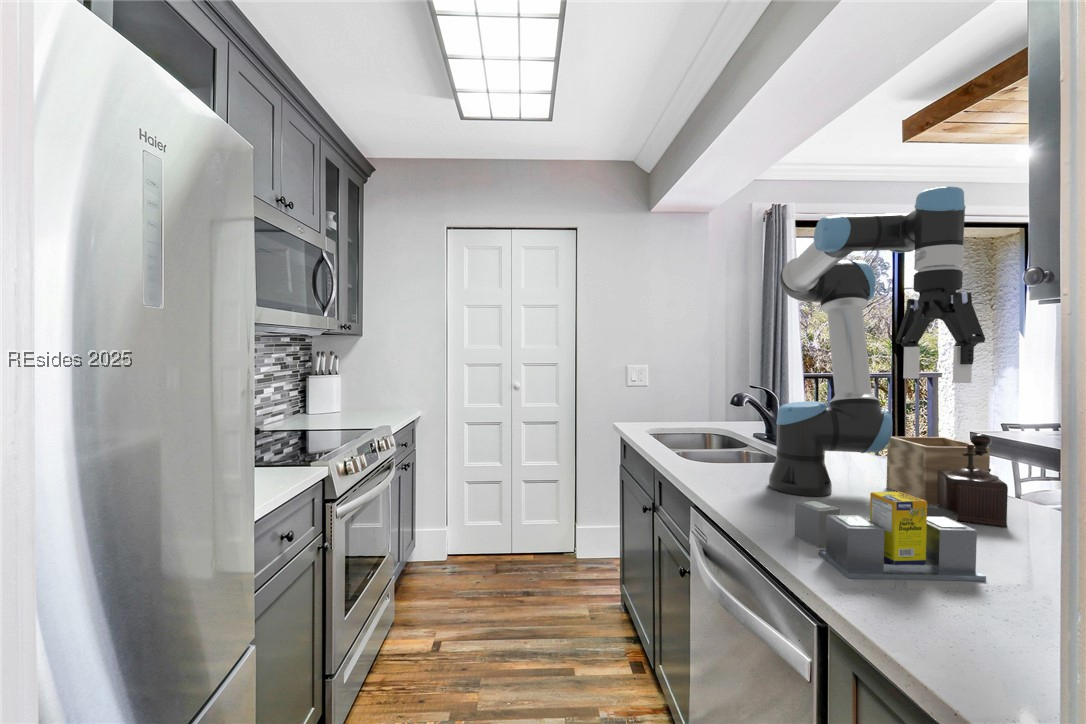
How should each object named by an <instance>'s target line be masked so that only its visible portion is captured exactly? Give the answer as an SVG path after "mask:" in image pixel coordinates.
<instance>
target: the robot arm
mask: <svg viewBox="0 0 1086 724" xmlns="http://www.w3.org/2000/svg"><path fill="white" fill-rule="evenodd" d="M965 214H966V205H965V191H964V189H963V188H961V187H959V186H940V187H935V188H930V189H925V190H924V191H923V190H922V191H921V192H918V194H917V196H916V199H915V204H914V210H912V211H910V212H908V213H885V214H880V213H879V214H855V215H854V214H850V215H848V214H847V215H842V214H837V215H831V216H823V217H822V218H820V219H819V220H818V222H817V223H816V226H815V227H814V234H813V242H812V243H811V244H810V245H809V246H808V247H807V248H806V249H805V250H804V251H803V252H802V253H801V254H800V255H798V257H795V258H792V259H791V260H789V261H788V262H787V263H786V264H784V266H783V267H782V269H781V271H780V273H779V280H778V281H779V285H780V287H781V289H782V290H783V292H784V293H785V294H786V295H787V296H789V297H790V298H792V299H794V300H797V301H800V302H807V303H808V302H809V303H820V310H821V311H822V312H824V313H825V314H826V315H827V324H828V333H829V334H828V336H829V344H830V346H829V347H830V355H831V358H830V359H831V368H832V378H833V388H834V389H833V390H834V391H833V392H834V396H833V398H832V399H831V400H829V402H828V403H829V405H828V406H829V407H828V406H827V405H826V402H824V401H816V400H813V401H796V402H795V401H794V402H790V403H789V402H788V403H785V404H782V405H780V406H779V408H778V409H777V416H776V422H775V423H776V458H775V461H774V464H773V466H772V469H771V471H770V475H769V477H768V485H769V487H770V488H771V489H773V490H774V491H778V492H781V493H785V494H790V495H795V496H796V495H797V496H805V497H822V496H823V497H824V496H829V495H831V494H832V491H833V490H832V489H833V488H832V487H833V486H832V484H833V483H832V481H831V478H830V475H829V472H828V470H827V466H826V463H825V462H826V460H825V458H826V457H825V456H826V455H825V454H826V452H844V453H860V454H867V453H880V452H882V451H883V450H885V449H886V448H887V445H888V442H889V440H890V438H891V437H892V433H893V417H892V415H891V413H890V411H889V410H888V409H887V408H884V407H881V401H880V399H879V398H877V397H876V396H874V395H873V392H872V383H871V374H870V373H871V372H870V365H869V355H868V346H867V336H866V330H865V329H866V328H865V319H864V310H865V308H867V306H868V305H869V301H871V300H872V299H873V298H874V296H875V293H876V288H875V287H876V285H877V283H876V282H877V281H876V276H875V273H874V270H873V268H872V266H871V265H870V264H869V263H867V262H866V261H864V260H853V259H845V258H846V257H847V256H848V255H850V254H851V253H853V252H867V251H871V252H873V251H875V252H876V251H889V252H893V253H894V254H895V253H896V254H902V253H910V252H913V251H914V266H913V267H914V269H913V270H915V271H916V272H915V273H914V274H913V291H914V292H916V293H918V294H919V296H918V298H908V299H907V300H906V308H905V312H904V316H903V318H902V321H901V324H900V327H899V329H898V331H897V335H896V339H895V343H896V344H899V345H901V347H903V352H902V353H903V354H902V356H903V358H902V359H903V370H902V371H903V375H902V377H903V378H902V379H920V359H921V357H920V356H921V355H920V353H921V352H920V351H921V345H920V344H919V342H920V341H921V339H922V337H923V336H924V334H925V332H926V330H927V329H928V327H929V326H930V324H931V323H932V322H935V320H941V321H942V322H943V323H944V325H945V326H946V328H947V329H948V331H949V333H950V334H951V336H952V338H953V339H954V341H955V344H954V346H953V358H952V359H953V364H952V365H953V366H952V383H954V384H972V370H973V368H972V367H973V363H974V353H975V352H974V351H975V347H976V346H977V345H979V344H981V343H982V344H983V343H985V342H986V337H985V333H984V331H983V329H982V326H981V324H980V321H979V319H978V316H977V314H976V313H977V312H976V311H975V309H974V306H973V298H972V297H973V296H972V293H971V292H969V291H962V292H961V291H960V290H962V288H963V281H964V280H963V275H964V274H963V273H964V272H963V271H962V269H961V268H962V267H964V249H965V248H964V237H965ZM844 259H845V260H844ZM957 291H958V292H957Z"/></svg>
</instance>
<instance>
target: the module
mask: <svg viewBox="0 0 1086 724" xmlns="http://www.w3.org/2000/svg"><path fill="white" fill-rule="evenodd" d="M826 515H841V509H840V507H839V508H838V507H835V506H833V505H829V504H827V503H824V502H821V501H818V500H815V499H812V500H805V501H804V500H803V501H795V502H794V535H793V536H794V538H797V539H798V540H801V541H803V542H806V543H808V544H810V545H812V546H814V547H817V548H826Z"/></svg>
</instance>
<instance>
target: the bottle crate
mask: <svg viewBox="0 0 1086 724" xmlns="http://www.w3.org/2000/svg"><path fill="white" fill-rule="evenodd" d="M969 444H972V445H974V444H973V443H972V442H966V441H963V440H958V439H953V438H948V437H945V436H891V438H890V440H889V442H888V444H887V446H886V448H887V451H886V452H887V454H886V461H887V462H886V487H888V488H887V489H889V488H890V489H889V490H891V489H893V490H895V491H894V492H896V491H898V492H903V493H905V494H908V495H911V496H914V497H917V498H919V499H922V500H925V501H927V505H938V497H937V481H938V470H940V471H954V470H956V469H959V468H962V467H967V466H968V456H963V455H962V453H965V452H967V450H968V449H967V446H968V445H969ZM974 449H975V446H974ZM987 450H988V452H989V454H984V455H982V456H979V455H976V456H973V464H974V467H977V468H979V469H982V470H984V471H988V470H989V469H990V462H991V461H990V459H991V458H990V457H991V448H990V447H989V446H988V447H987ZM893 490H892V491H893Z"/></svg>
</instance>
